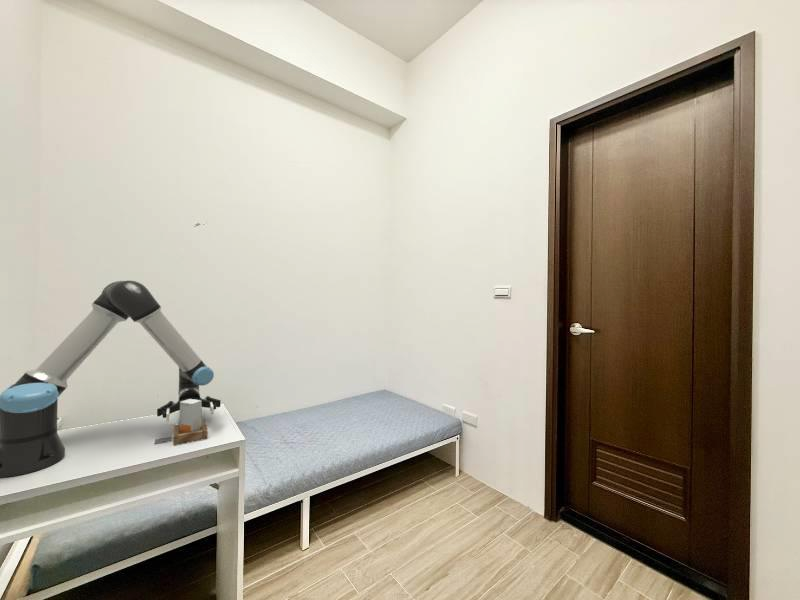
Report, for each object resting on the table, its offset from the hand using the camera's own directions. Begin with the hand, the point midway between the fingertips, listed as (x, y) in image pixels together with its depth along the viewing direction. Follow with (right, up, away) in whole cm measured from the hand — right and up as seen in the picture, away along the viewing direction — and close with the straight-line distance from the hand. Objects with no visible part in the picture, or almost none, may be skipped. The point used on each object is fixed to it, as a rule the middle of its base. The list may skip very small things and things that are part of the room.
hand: (190, 414), depth 116 cm
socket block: (-2, -9, +3) cm, 10 cm away
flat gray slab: (-9, -9, -1) cm, 13 cm away
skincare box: (-2, -8, +3) cm, 9 cm away
